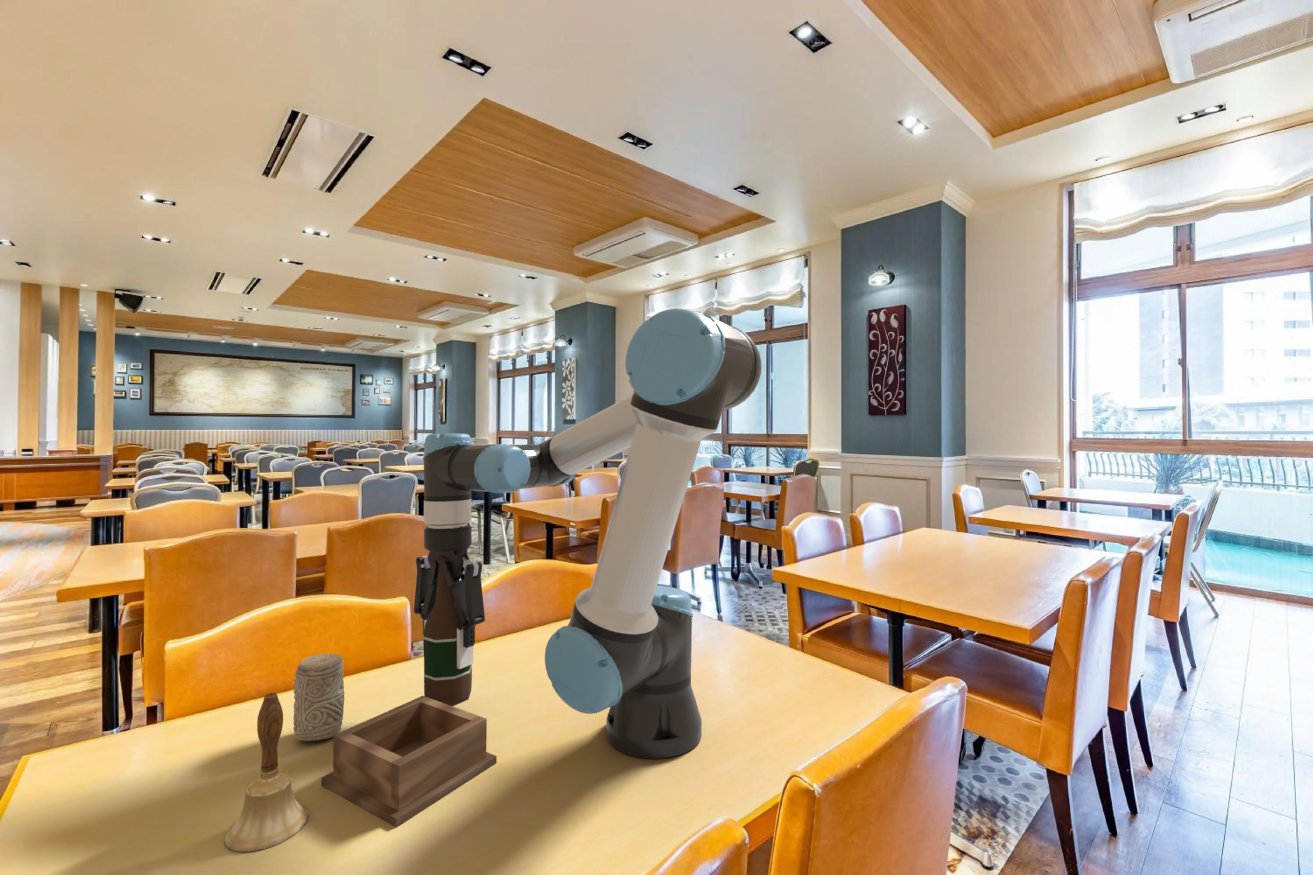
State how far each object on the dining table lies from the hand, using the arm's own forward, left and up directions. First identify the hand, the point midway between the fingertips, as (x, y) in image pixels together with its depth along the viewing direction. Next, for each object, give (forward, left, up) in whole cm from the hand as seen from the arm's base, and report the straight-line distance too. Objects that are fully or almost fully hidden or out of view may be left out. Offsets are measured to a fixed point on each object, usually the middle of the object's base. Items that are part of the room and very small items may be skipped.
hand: (448, 660), depth 97 cm
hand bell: (-5, +30, -9) cm, 32 cm away
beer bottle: (0, 0, -6) cm, 6 cm away
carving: (+11, +15, -9) cm, 21 cm away
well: (-10, +14, -9) cm, 19 cm away
